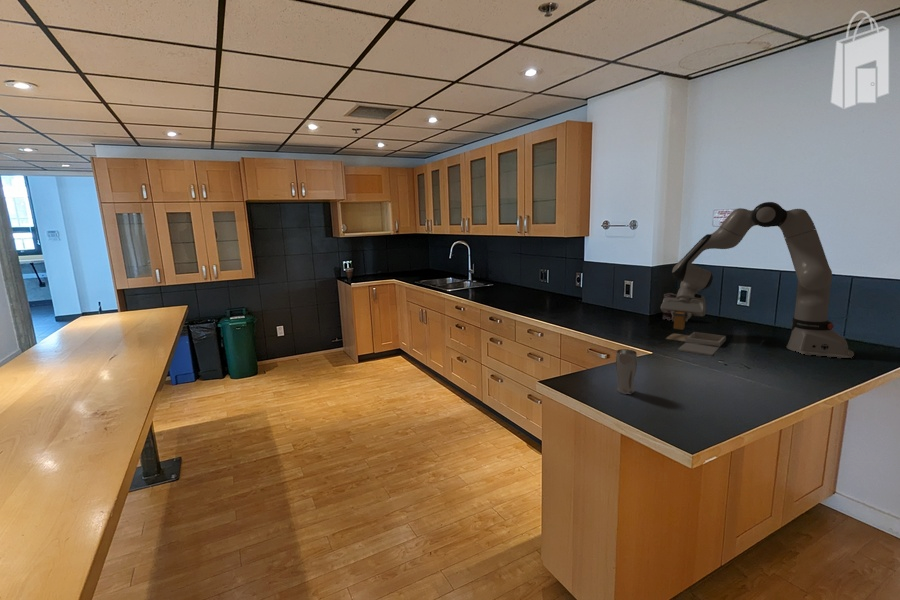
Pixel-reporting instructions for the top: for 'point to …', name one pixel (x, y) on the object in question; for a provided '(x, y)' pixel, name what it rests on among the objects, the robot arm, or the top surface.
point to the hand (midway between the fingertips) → (679, 320)
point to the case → (702, 343)
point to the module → (679, 320)
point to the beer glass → (626, 370)
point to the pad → (677, 337)
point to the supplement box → (665, 314)
